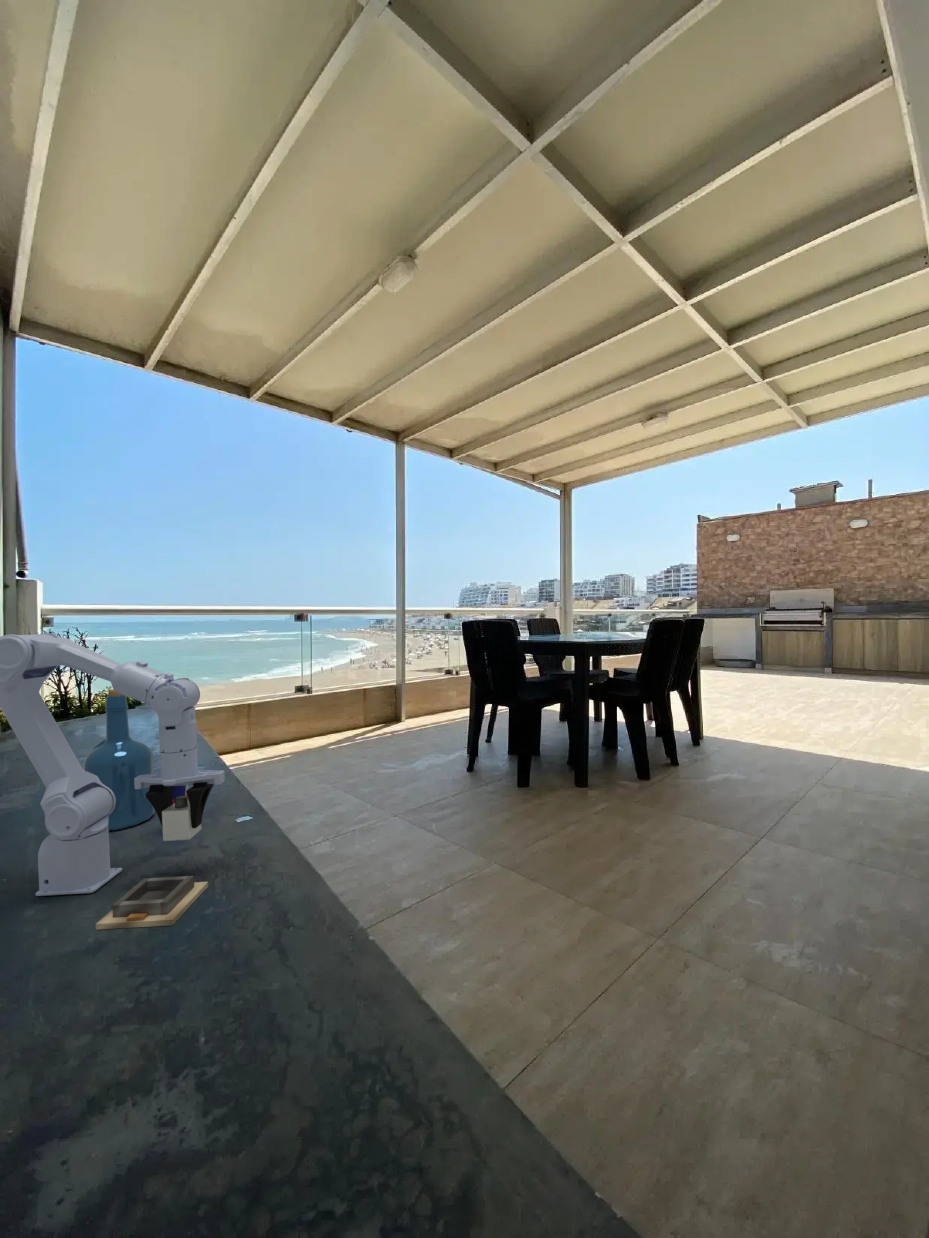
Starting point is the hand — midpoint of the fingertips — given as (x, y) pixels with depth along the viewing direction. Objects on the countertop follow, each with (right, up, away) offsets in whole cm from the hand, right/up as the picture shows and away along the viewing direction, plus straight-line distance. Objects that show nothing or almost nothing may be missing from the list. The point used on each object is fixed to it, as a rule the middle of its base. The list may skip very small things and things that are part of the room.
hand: (182, 826), depth 91 cm
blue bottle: (-28, -10, +27) cm, 41 cm away
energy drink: (-12, -9, +21) cm, 26 cm away
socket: (+1, -8, -10) cm, 13 cm away
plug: (0, -1, 0) cm, 1 cm away
